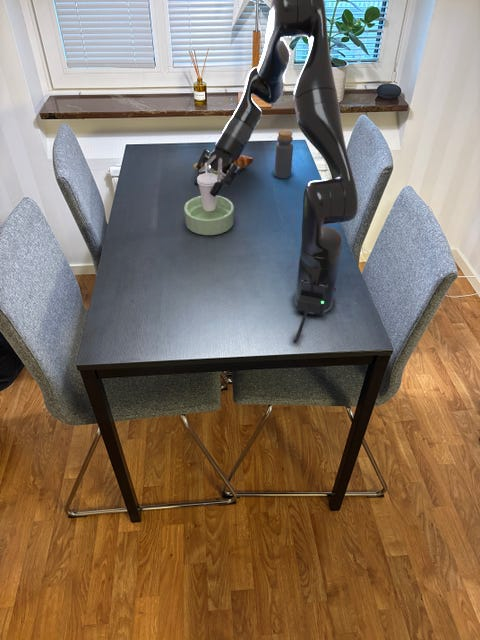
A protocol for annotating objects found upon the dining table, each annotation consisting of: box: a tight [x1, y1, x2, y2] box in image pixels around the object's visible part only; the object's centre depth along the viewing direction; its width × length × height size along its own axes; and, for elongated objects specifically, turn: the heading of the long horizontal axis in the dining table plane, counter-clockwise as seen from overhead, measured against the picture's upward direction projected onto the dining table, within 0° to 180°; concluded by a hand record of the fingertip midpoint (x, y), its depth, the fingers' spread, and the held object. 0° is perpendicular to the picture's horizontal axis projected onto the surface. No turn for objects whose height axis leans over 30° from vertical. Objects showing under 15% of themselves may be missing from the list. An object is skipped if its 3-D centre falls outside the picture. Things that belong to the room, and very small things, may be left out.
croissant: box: [193, 154, 254, 175], centre depth 178 cm, size 21×10×8 cm, turn 104°
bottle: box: [273, 129, 294, 179], centre depth 172 cm, size 6×6×15 cm
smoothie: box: [196, 163, 218, 211], centre depth 146 cm, size 6×6×14 cm
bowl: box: [183, 195, 235, 236], centre depth 152 cm, size 15×15×6 cm
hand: (204, 190), depth 145 cm, fingers closed on smoothie, 6 cm apart
